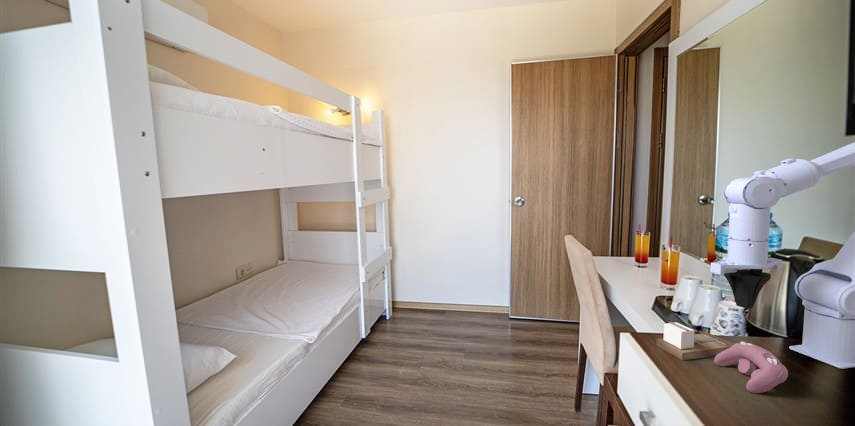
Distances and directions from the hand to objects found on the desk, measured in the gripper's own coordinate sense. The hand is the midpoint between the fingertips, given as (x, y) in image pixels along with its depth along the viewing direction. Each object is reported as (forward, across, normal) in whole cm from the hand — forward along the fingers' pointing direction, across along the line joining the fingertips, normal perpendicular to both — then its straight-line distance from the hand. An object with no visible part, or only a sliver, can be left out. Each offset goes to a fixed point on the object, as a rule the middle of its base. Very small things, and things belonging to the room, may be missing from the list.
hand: (744, 306), depth 68 cm
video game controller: (+10, +8, +8) cm, 15 cm away
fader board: (+9, +8, -3) cm, 12 cm away
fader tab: (+8, +12, -3) cm, 14 cm away
